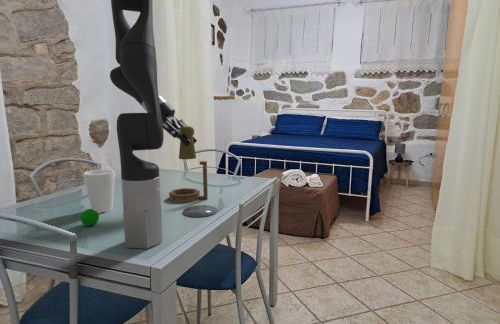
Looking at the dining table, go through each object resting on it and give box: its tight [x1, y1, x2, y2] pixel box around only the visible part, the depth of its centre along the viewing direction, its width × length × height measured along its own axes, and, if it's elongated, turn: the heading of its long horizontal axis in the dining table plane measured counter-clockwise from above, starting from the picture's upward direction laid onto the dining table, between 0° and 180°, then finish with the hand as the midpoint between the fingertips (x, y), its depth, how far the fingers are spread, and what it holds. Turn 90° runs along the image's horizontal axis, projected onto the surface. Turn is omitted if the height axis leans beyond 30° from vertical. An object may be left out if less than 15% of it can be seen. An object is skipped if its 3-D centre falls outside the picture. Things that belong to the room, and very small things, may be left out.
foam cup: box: [83, 168, 116, 214], centre depth 120 cm, size 10×9×13 cm
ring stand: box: [168, 160, 209, 203], centre depth 133 cm, size 10×14×14 cm
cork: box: [178, 125, 197, 160], centre depth 125 cm, size 6×6×11 cm
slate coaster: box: [183, 204, 218, 218], centre depth 118 cm, size 11×11×1 cm
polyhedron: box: [79, 208, 100, 227], centre depth 106 cm, size 5×5×5 cm
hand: (192, 143), depth 125 cm, fingers closed on cork, 5 cm apart
